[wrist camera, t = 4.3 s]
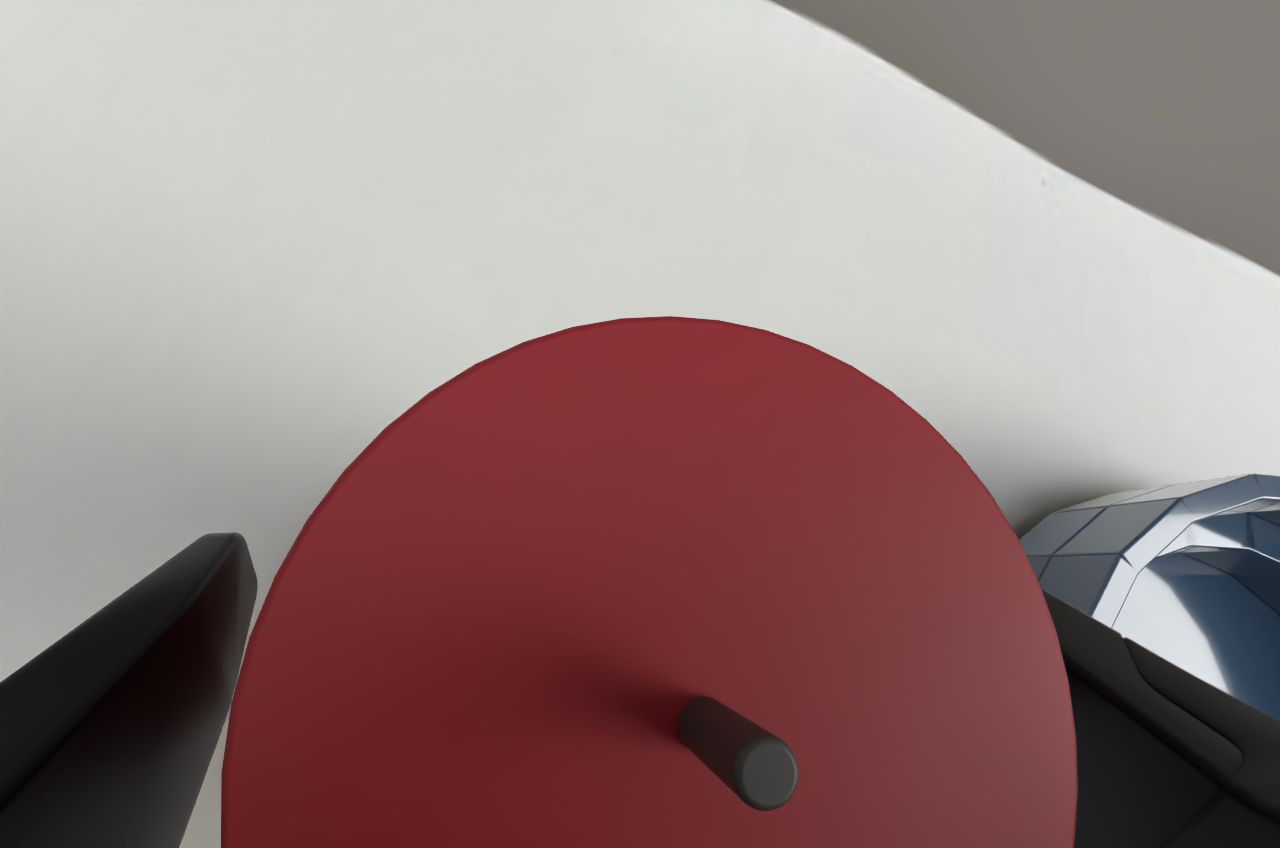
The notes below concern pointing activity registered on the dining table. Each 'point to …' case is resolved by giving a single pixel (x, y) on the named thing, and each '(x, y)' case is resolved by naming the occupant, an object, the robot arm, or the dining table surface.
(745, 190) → the dining table surface
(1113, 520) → the bowl
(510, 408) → the candle
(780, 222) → the dining table surface
